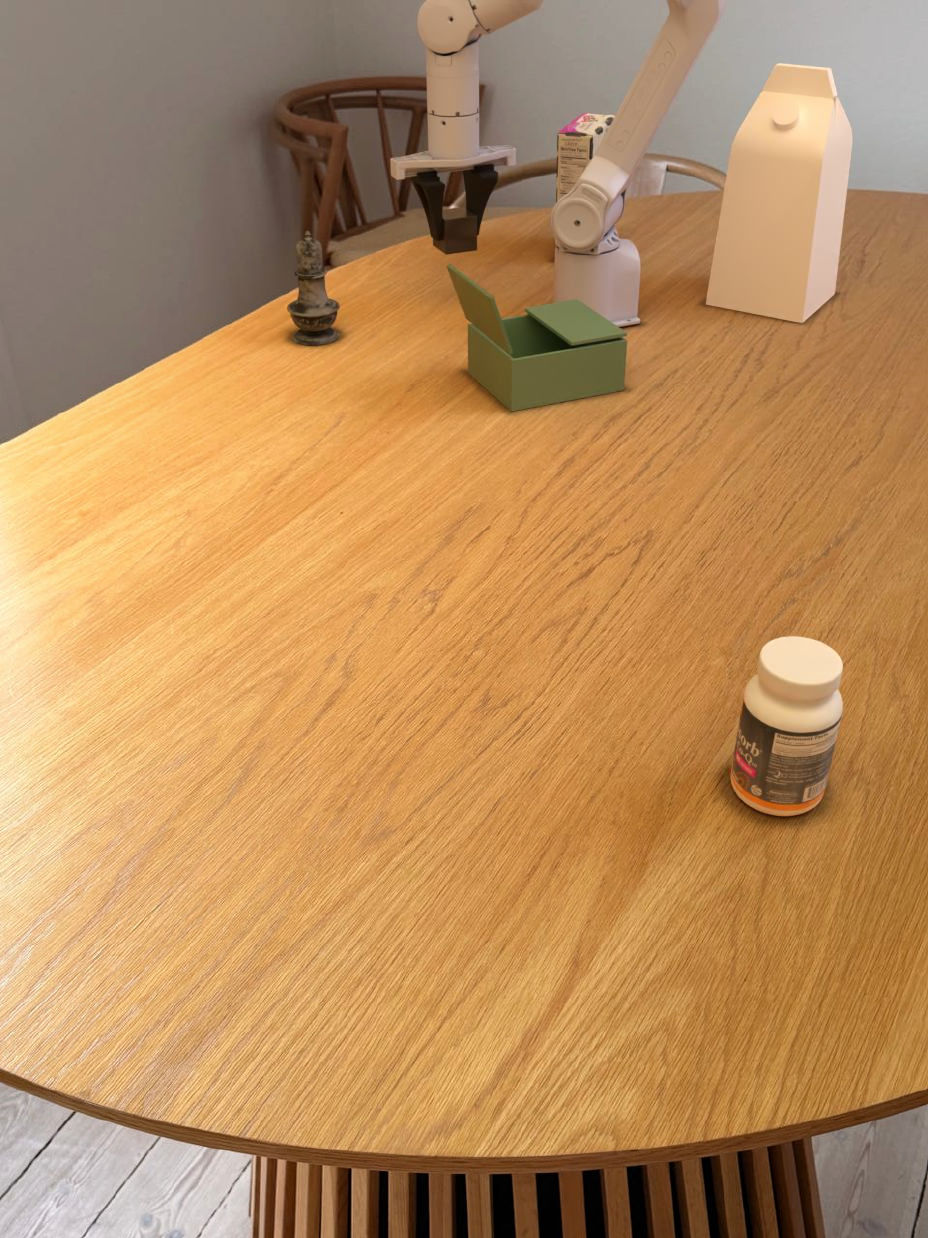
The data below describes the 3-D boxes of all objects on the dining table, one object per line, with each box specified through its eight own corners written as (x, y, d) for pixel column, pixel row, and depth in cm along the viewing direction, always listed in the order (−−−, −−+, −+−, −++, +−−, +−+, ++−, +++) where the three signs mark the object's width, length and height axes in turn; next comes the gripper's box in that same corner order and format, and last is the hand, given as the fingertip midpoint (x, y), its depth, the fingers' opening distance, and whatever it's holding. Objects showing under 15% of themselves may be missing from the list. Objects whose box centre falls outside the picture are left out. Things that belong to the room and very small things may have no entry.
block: (464, 240, 144) (463, 206, 142) (477, 250, 141) (477, 215, 139) (432, 245, 143) (431, 210, 141) (445, 254, 140) (444, 219, 138)
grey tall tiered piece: (345, 328, 140) (339, 222, 133) (336, 347, 135) (329, 239, 128) (295, 326, 140) (286, 221, 134) (284, 345, 135) (274, 237, 129)
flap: (513, 352, 117) (509, 354, 117) (469, 316, 125) (465, 318, 125) (493, 296, 113) (490, 298, 113) (449, 263, 121) (445, 265, 121)
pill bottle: (718, 761, 77) (737, 632, 71) (807, 755, 77) (832, 627, 72) (743, 824, 72) (765, 691, 67) (837, 817, 73) (867, 685, 67)
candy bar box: (575, 237, 168) (581, 111, 159) (610, 241, 166) (618, 114, 157) (551, 261, 159) (555, 129, 150) (588, 266, 158) (595, 133, 148)
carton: (511, 411, 121) (512, 352, 117) (467, 372, 129) (467, 316, 125) (624, 390, 125) (628, 332, 121) (574, 353, 133) (577, 298, 129)
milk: (834, 293, 148) (873, 62, 133) (802, 323, 140) (840, 80, 125) (741, 277, 153) (769, 53, 139) (705, 304, 145) (730, 69, 131)
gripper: (498, 98, 139) (497, 218, 146) (378, 110, 134) (384, 234, 142) (524, 110, 133) (522, 234, 141) (401, 123, 129) (405, 251, 136)
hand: (455, 235), depth 141 cm, fingers closed on block, 4 cm apart
